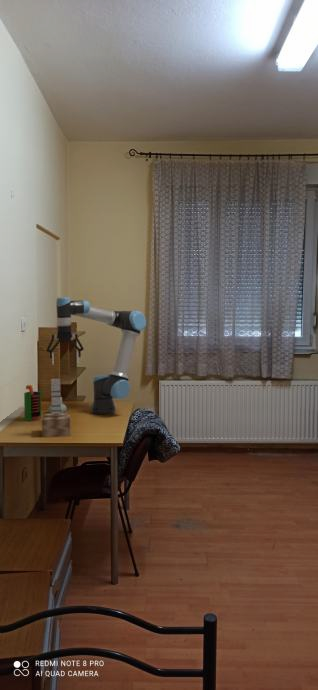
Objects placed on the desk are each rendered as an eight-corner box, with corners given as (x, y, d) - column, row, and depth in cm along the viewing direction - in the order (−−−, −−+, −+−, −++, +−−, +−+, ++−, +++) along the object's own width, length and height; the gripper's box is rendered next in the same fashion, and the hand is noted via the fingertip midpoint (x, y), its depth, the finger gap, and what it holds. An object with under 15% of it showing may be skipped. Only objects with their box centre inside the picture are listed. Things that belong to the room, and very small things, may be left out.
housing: (70, 429, 278) (70, 410, 277) (70, 435, 264) (69, 416, 263) (43, 430, 276) (43, 411, 275) (42, 437, 262) (41, 417, 261)
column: (61, 416, 272) (60, 378, 270) (60, 418, 267) (60, 379, 266) (52, 416, 271) (51, 378, 269) (51, 418, 266) (50, 380, 265)
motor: (35, 421, 296) (35, 387, 294) (21, 421, 298) (20, 386, 296) (43, 417, 306) (42, 384, 304) (29, 417, 308) (28, 384, 306)
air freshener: (68, 412, 321) (67, 396, 321) (64, 415, 313) (64, 398, 312) (51, 411, 322) (50, 396, 322) (46, 414, 314) (46, 398, 313)
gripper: (86, 324, 290) (88, 361, 292) (41, 325, 285) (42, 363, 287) (87, 325, 283) (88, 363, 285) (40, 326, 278) (42, 365, 280)
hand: (65, 363), depth 286 cm, fingers open, 13 cm apart
